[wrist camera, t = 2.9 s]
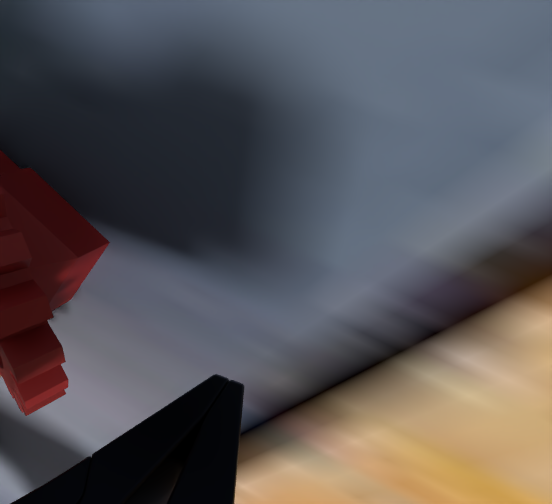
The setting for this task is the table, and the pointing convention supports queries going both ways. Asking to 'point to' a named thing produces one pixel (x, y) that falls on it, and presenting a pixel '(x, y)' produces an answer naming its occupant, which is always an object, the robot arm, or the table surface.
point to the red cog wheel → (37, 281)
